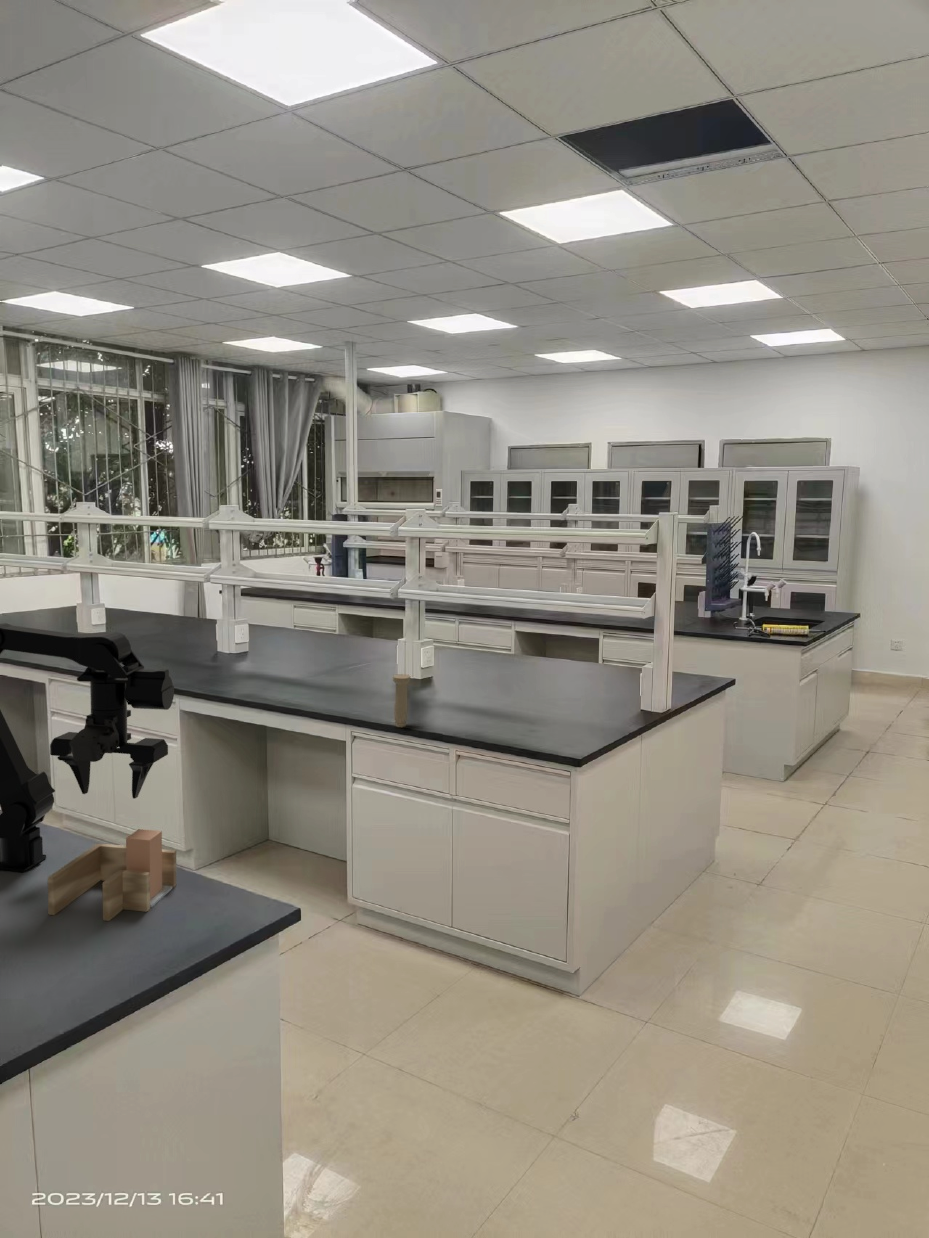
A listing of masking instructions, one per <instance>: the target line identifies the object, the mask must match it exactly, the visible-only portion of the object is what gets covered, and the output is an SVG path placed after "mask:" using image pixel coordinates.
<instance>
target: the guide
mask: <svg viewBox="0 0 929 1238" xmlns="http://www.w3.org/2000/svg"><path fill="white" fill-rule="evenodd" d="M101 881H103V882H102V921H107V922H110V921H111V920H112V919H114V918H115V917H116V916H117V915H119V913H120V912H122V911H124V910H127V911H136V912H137V911H138V912H144V913H145V912H148V911H150V910H151V908H153V907H154V906H155V905H156V904H157V903H158V902H160V901H161V900H162V899H163V898H164V897H165V896H166V895H167V894H168V893H170V891H172V889H173V888H175V887H176V886H177V850H173V849H163V848H162V890H161V891H160V892H159V893H158V894H157V895H156V896H154V897H153V898H152V899H151V900H150V873H149V872H139V871H129V870H126V845H123V844H121V845H119V844H113V843H112V844H111V843H109V844H108V843H100V842H98V843H96V844H94V845H93V846H91V847H90V848H89V849H87V850H85V851H84V852H83V853H82V854H79V856H77V857H75V858H74V859H72V860H70V862H68V863H67V864H65V865H64V866H62V867H61V868H59V869H58V870H56V871H55V872H53V873H52V874H50V875H49V876H48V877H47V902H48V903H47V908H48V912H47V913H48V915H49V916H51V915H52V916H55V915H57V914H58V913H59V912H60V911H62V910H63V909H65V908H66V907H67V906H68V905H70V904H71V903H72V902H74V901H75V900H77V898H79V897H81V896H82V895H83V894H84V893H85V892H87V891H88V890H90V889H91V888H93V886H95V885H96V884H98V883H99V882H101Z"/></svg>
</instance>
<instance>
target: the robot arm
mask: <svg viewBox="0 0 929 1238" xmlns="http://www.w3.org/2000/svg"><path fill="white" fill-rule="evenodd" d="M131 646H132V645H131V643H130V641H129V639H128V638H127V637H126V636H125V634H123V633H122V632H117V631H106V632H105V631H103V632H100V631H99V632H89V633H88V632H87V633H69V632H64V631H63V632H61V631H54V630H47V629H39V628H31V627H26V626H24V627H23V626H19V625H18V626H17V625H12V624H9V623H5V622H4V623H3V622H2V623H0V656H1V655H2V654H3V653H4V652H5V650H6V651H12V652H18V653H19V652H20V653H27V654H33V655H34V654H35V655H41V656H49V657H56V658H64V659H67V660H70V661H73V662H74V663H76V664H78V665H80V666H83V667H86V668H85V670H84V671H83V672H82V673H81V674H80V675H79V676H77V678H76V680H77V682H86V683H87V682H88V683H89V682H90V683H89V685H90V688H89V689H90V714H87V715H86V717H85V724H84V728H82V729H81V730H79V731H78V732H74V731H68V732H66V733H64V734H61V735H59V736H57V737H53V739H52V740H51V742H50V744H49V755H50V756H56V758H57V760H58V761H62V762H64V763H65V764H66V765H68V766H69V768H70V769H71V771H72V773H73V775H74V777H75V780H76V782H77V785H78V787H79V790H80V792H81V794H82V795H86V794H88V793H89V789H90V782H91V781H90V780H91V779H90V777H91V763H92V762H93V763H97V762H99V761H101V760H102V759H103V757H104V756H105V754H122V755H123V754H124V755H125V754H126V755H129V758H130V759H131V760H132V761H131V762H129V763H128V765H129V767H130V769H131V770H132V771H131V775H132V776H131V795H132V799H135V800H136V799H137V798H138V797H139V794H140V792H141V790H142V788H143V785H144V783H145V781H146V778H147V776H148V774H149V772H150V770H151V769H152V767H153V766H154V763H156V762H158V761H159V760H161V759H163V758H164V757H166V756H168V755H169V744H168V743H167V742H166V740H165V739H163V738H152V737H151V738H150V737H145V738H142V739H140V740H139V741H137V742H128V741H130V740H132V733H131V732H128V718H129V717H131V716H132V709H140V710H142V709H144V710H162V711H163V710H164V711H165V710H166V711H167V710H169V709H170V708H171V706H172V704H173V701H174V697H175V696H174V695H175V685H173V681H172V680H173V679H172V678H171V676H170V669H167V668H159V669H145V666H144V665H143V664H142V662H141V661H140V659H139V658H138V657H137V655H136V654H135V652H133V651H132V647H131ZM128 706H131V708H132V709H128ZM55 792H56V790H55V789H54V788H53V787H52V785H51V784H50V781H49V778H48V775H47V773H46V772H45V771H41V772H40V773H39V774H37V773H36V772H34V771H33V770H32V769H31V768H29V766H28V765H27V763H26V761H25V759H24V756H23V754H22V752H21V750H20V748H19V746H18V743H17V742H16V740H15V738H14V735H13V733H12V731H11V729H10V727H9V724H8V723H7V721H6V719H5V716H4V715H3V713H2V710H1V709H0V810H1V813H0V870H1V871H2V870H3V871H12V872H22V873H23V872H27V871H28V870H30V869H31V868H33V867H34V866H36V865H37V864H39V863H40V862H42V861H44V860H45V859H46V858H47V855H46V854H44V849H43V847H44V846H43V836H41V827H39V826H37V825H39V824H40V823H43V821H44V819H45V817H46V814H48V813H49V812H50V811H51V809H52V808H53V806H54V803H55V796H54V793H55Z"/></svg>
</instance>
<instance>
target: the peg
mask: <svg viewBox="0 0 929 1238" xmlns="http://www.w3.org/2000/svg"><path fill="white" fill-rule="evenodd" d="M125 846H126V870H129V871H139V872H149V873H150V900H151V899H152V898H153V897H154V896H156V895H157V894H158V893H159V892H160V891H161V890H162V849H163V831H161V830H152V829H140V828H138V829H136V830H135V831H134V832H133V833H131V834H129V835H128V836H127V837H125Z"/></svg>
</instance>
